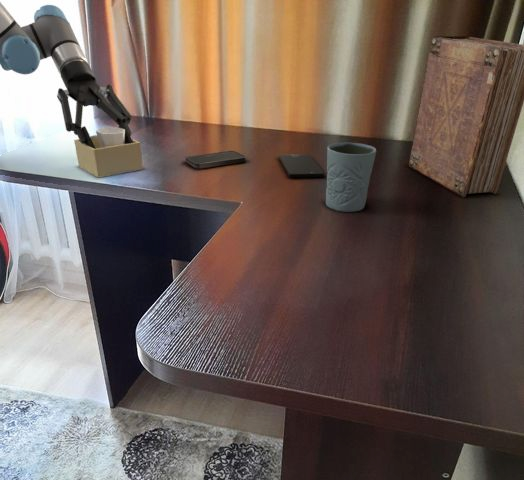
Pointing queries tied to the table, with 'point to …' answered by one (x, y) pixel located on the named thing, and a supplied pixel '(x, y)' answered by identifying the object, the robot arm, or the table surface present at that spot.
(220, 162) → the phone
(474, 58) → the book
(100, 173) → the tan open box
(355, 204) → the grey embossed tumbler
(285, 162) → the cell phone
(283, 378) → the table surface
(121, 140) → the cup
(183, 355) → the table surface
